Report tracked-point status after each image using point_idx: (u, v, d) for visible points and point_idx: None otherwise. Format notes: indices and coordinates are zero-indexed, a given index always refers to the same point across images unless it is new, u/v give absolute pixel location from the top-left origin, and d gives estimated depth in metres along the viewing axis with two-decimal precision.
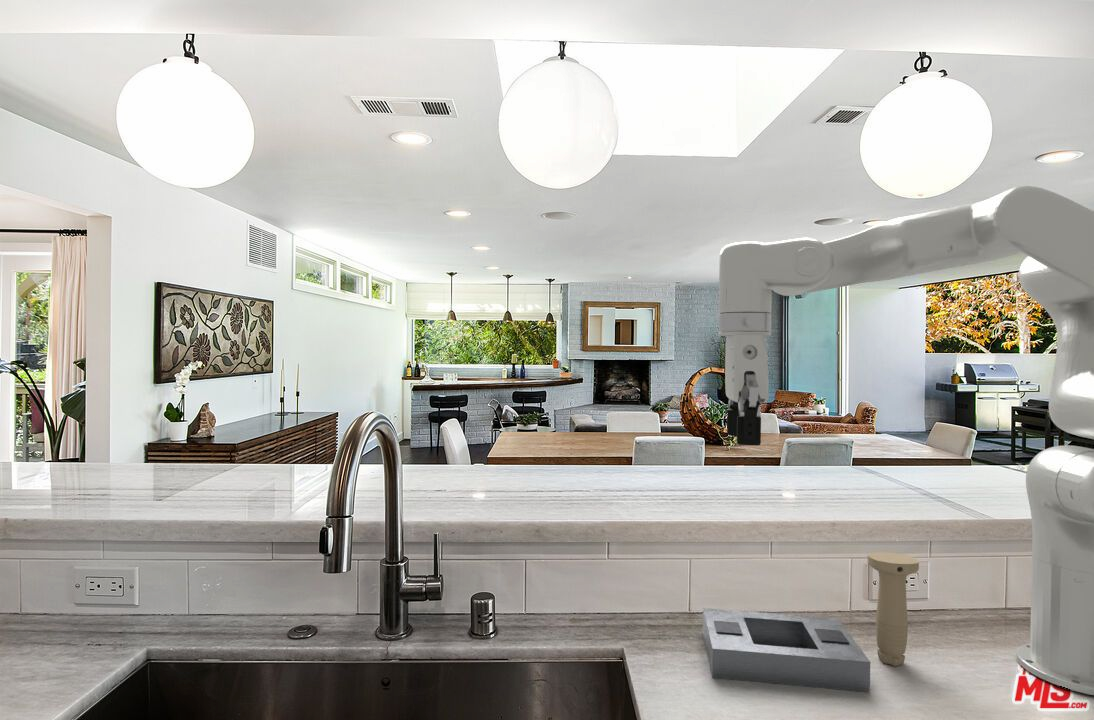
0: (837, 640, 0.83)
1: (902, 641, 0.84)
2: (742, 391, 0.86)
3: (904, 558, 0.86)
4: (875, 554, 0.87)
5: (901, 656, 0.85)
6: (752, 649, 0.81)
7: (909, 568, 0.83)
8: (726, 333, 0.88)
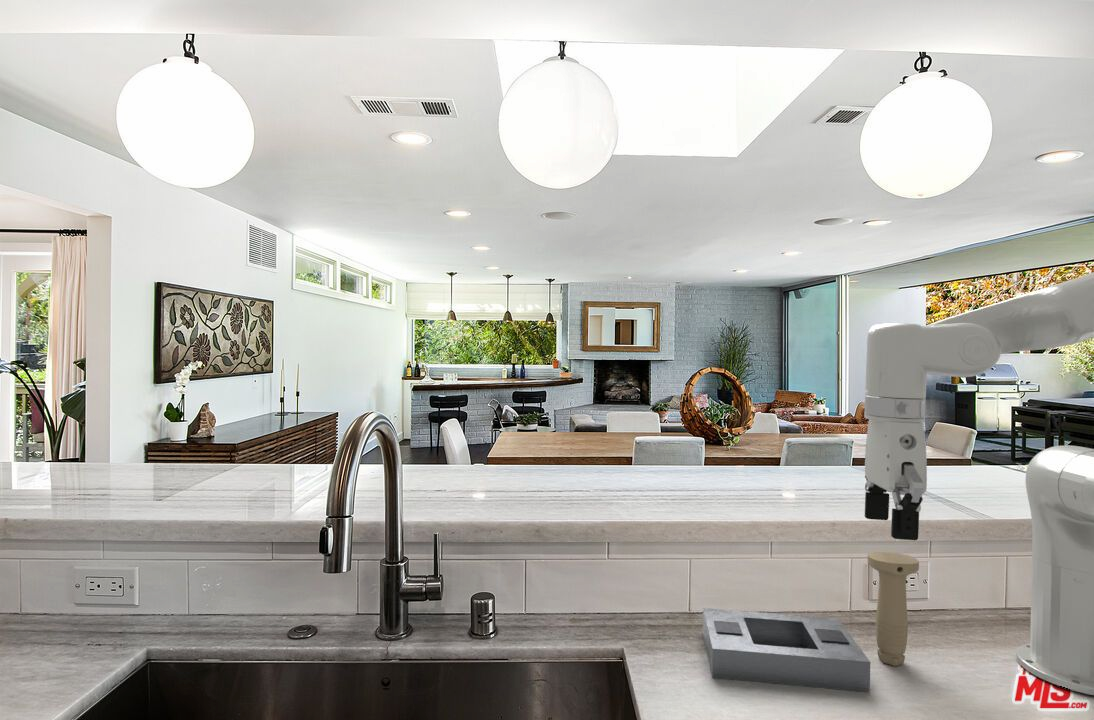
0: (837, 640, 0.83)
1: (902, 641, 0.84)
2: None
3: (904, 558, 0.86)
4: (875, 554, 0.87)
5: (901, 656, 0.85)
6: (752, 649, 0.81)
7: (909, 568, 0.83)
8: (878, 418, 0.84)
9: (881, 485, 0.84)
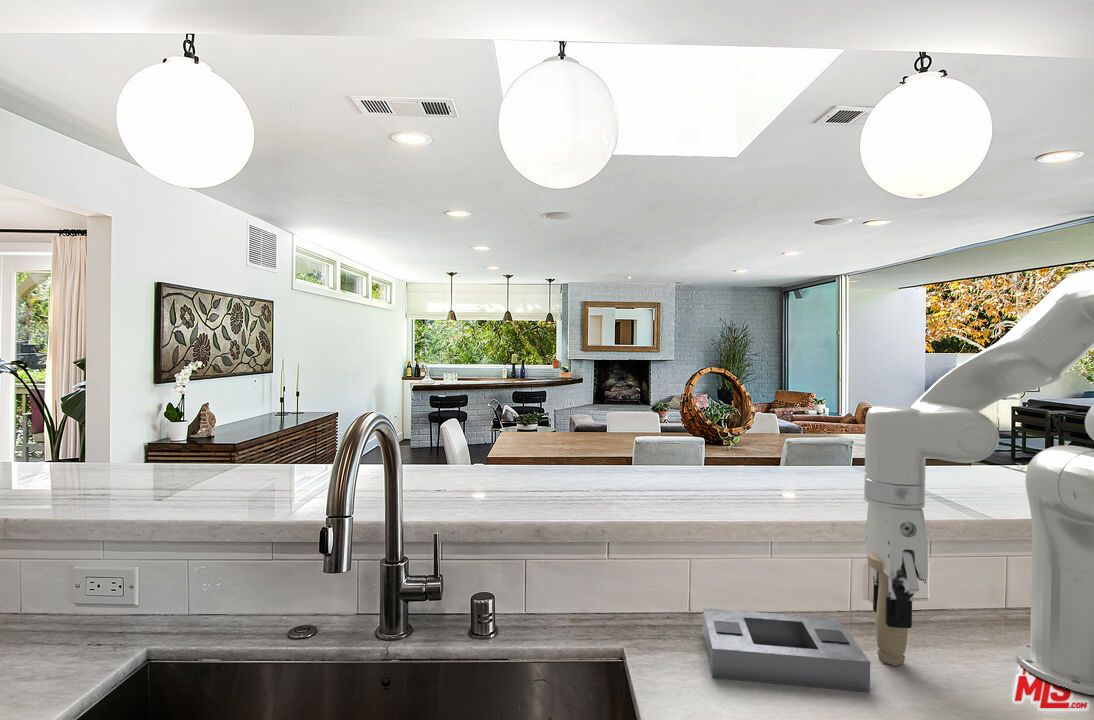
0: (837, 640, 0.83)
1: (902, 641, 0.84)
2: None
3: None
4: None
5: (901, 656, 0.85)
6: (752, 649, 0.81)
7: None
8: (878, 503, 0.84)
9: None
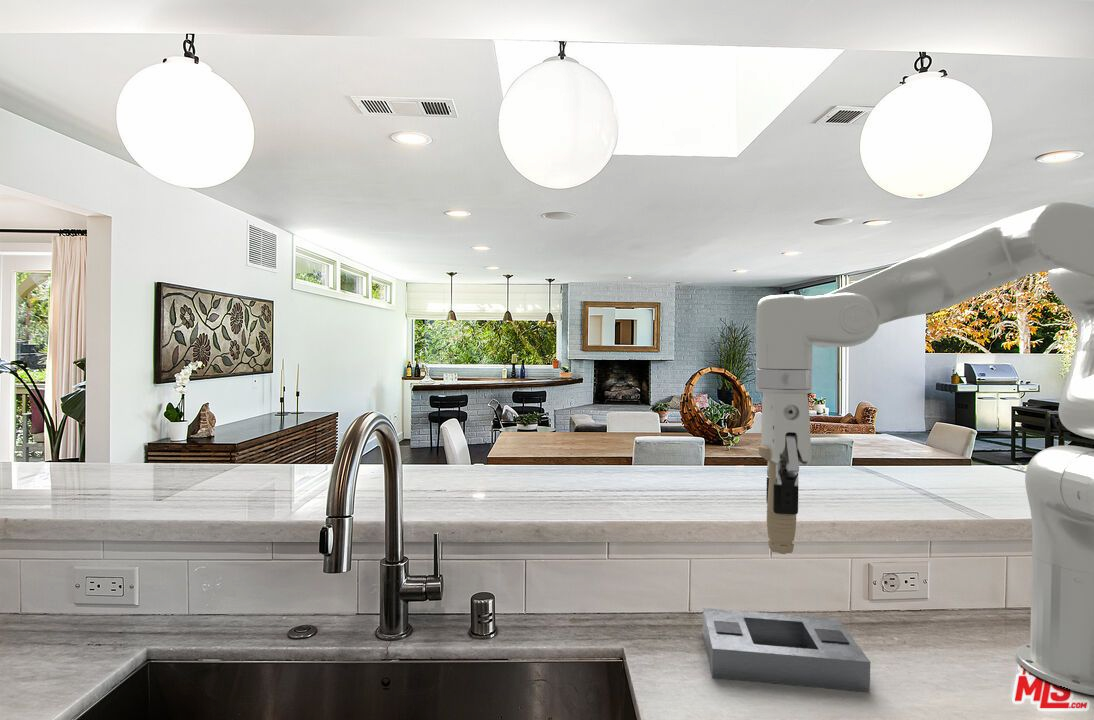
0: (837, 640, 0.83)
1: (790, 528, 0.84)
2: (782, 452, 0.82)
3: None
4: None
5: (789, 544, 0.84)
6: (752, 649, 0.81)
7: None
8: (765, 390, 0.84)
9: (770, 457, 0.84)
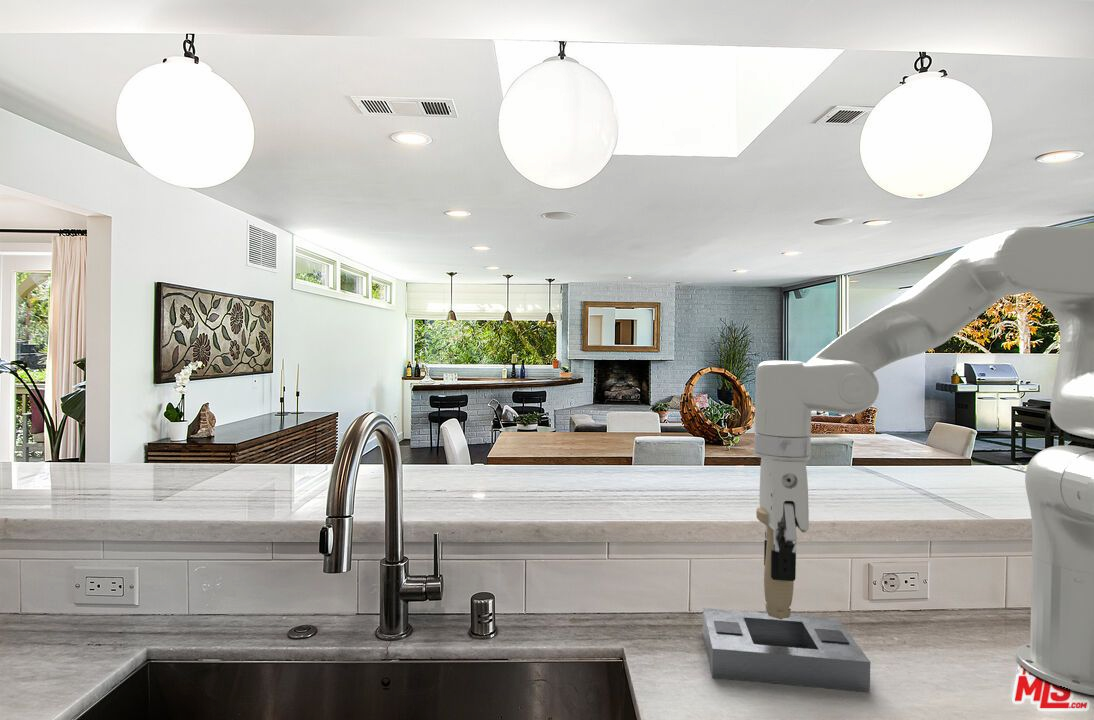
0: (837, 640, 0.83)
1: (787, 593, 0.84)
2: (780, 519, 0.82)
3: None
4: None
5: (786, 609, 0.85)
6: (752, 649, 0.81)
7: None
8: (763, 456, 0.84)
9: (768, 523, 0.84)
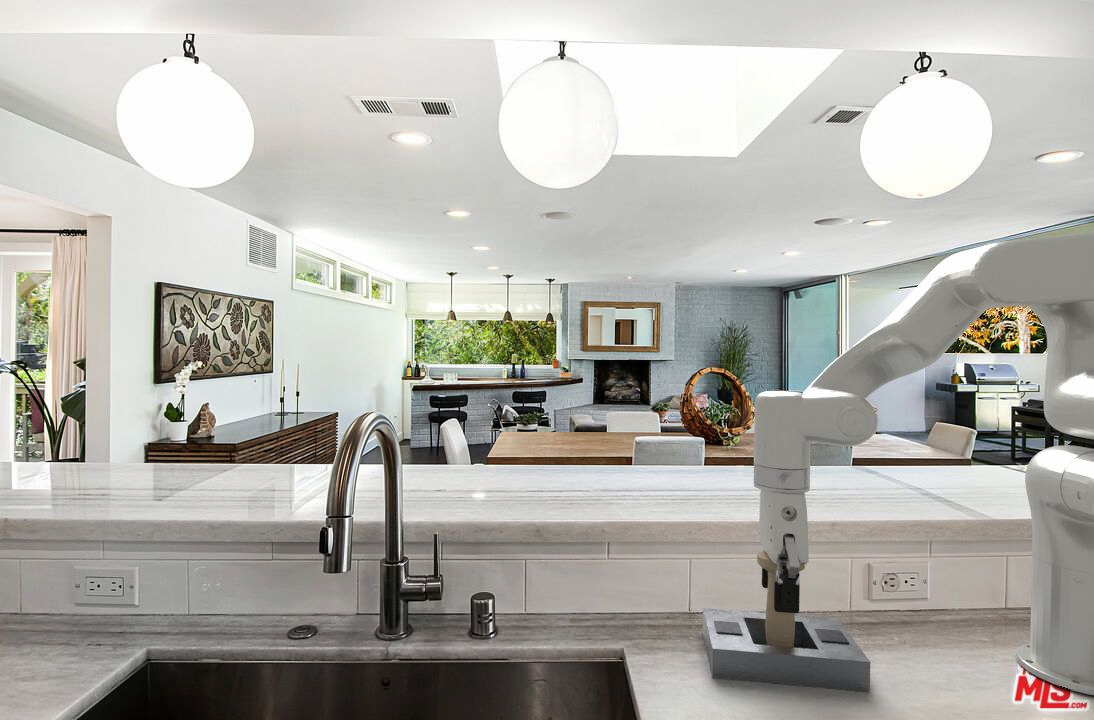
0: (837, 640, 0.83)
1: (789, 639, 0.84)
2: (780, 551, 0.83)
3: None
4: (765, 553, 0.87)
5: None
6: (752, 649, 0.81)
7: None
8: (763, 488, 0.84)
9: (768, 554, 0.84)
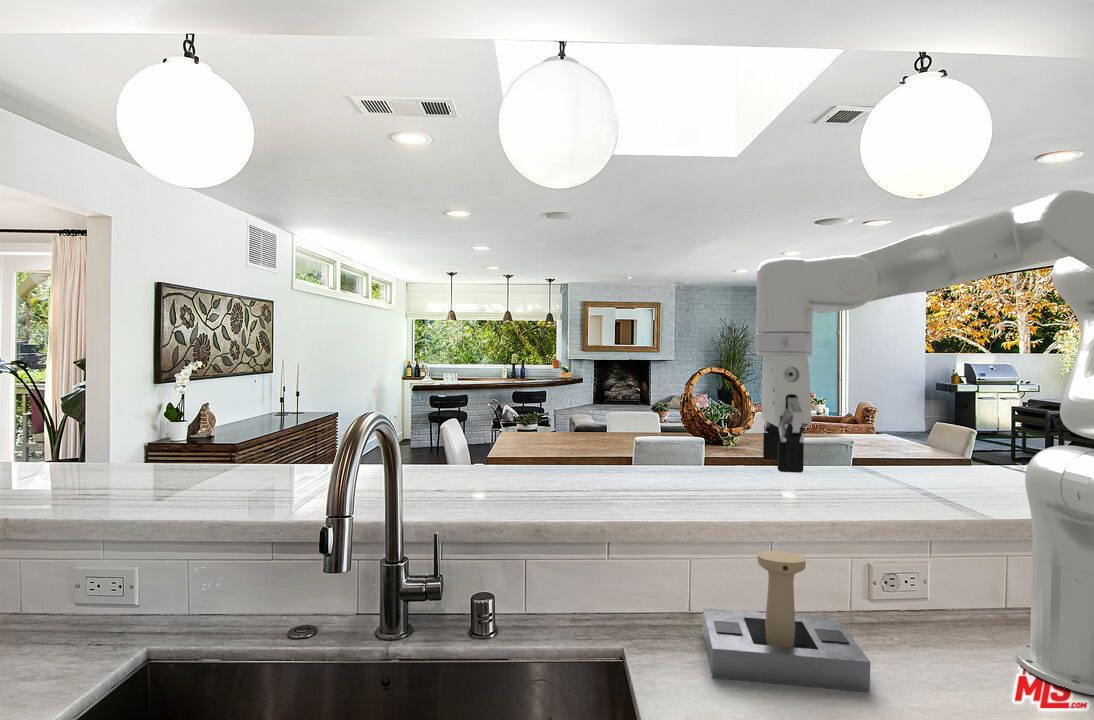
0: (837, 640, 0.83)
1: (789, 639, 0.84)
2: (783, 415, 0.82)
3: (792, 557, 0.86)
4: (765, 553, 0.87)
5: None
6: (752, 649, 0.81)
7: (794, 566, 0.83)
8: (765, 354, 0.83)
9: (770, 421, 0.84)
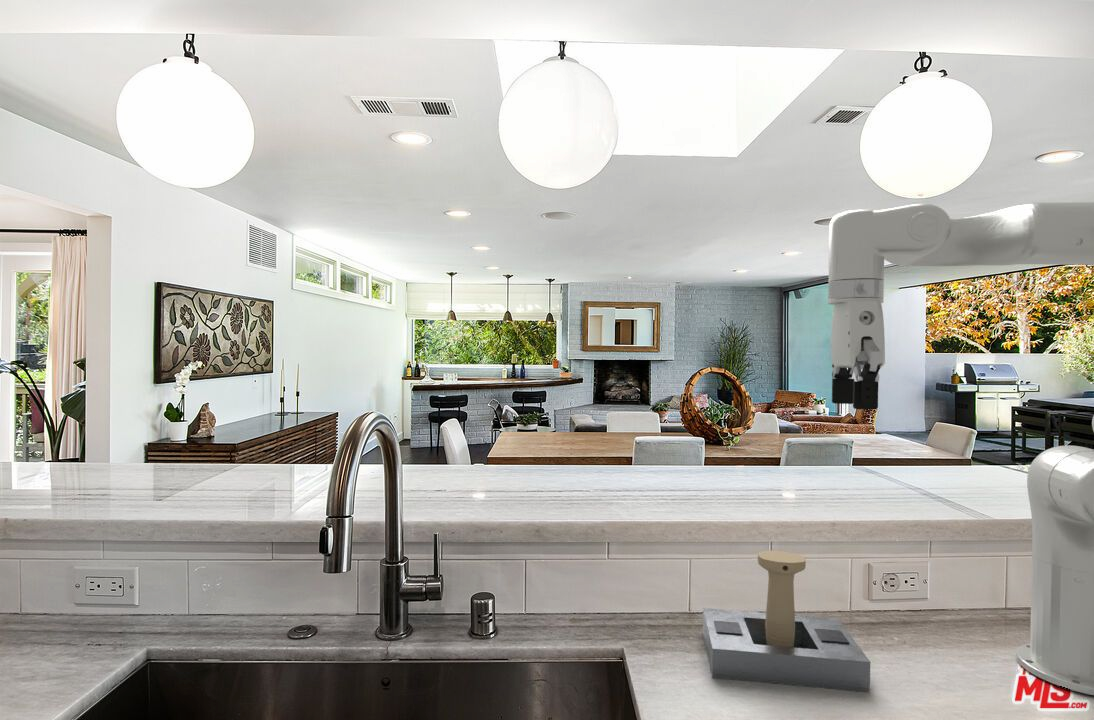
0: (837, 640, 0.83)
1: (789, 639, 0.84)
2: (857, 357, 0.88)
3: (792, 557, 0.86)
4: (765, 553, 0.87)
5: None
6: (752, 649, 0.81)
7: (794, 566, 0.83)
8: (839, 300, 0.89)
9: (844, 363, 0.89)
